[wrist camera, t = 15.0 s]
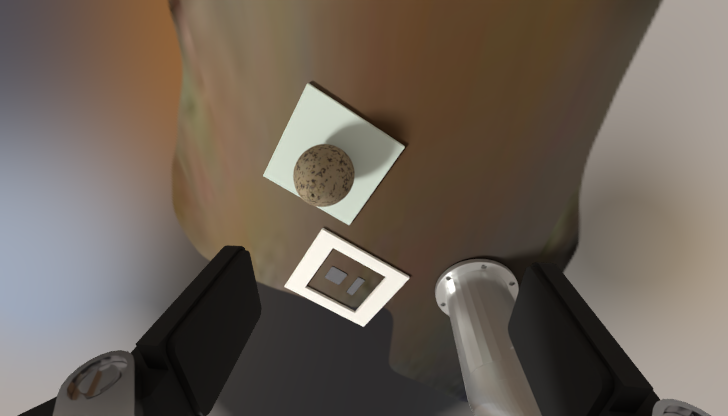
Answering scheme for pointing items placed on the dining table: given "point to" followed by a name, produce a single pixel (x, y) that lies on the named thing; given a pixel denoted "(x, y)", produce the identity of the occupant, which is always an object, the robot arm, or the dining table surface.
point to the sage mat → (344, 130)
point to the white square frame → (318, 255)
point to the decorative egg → (323, 175)
